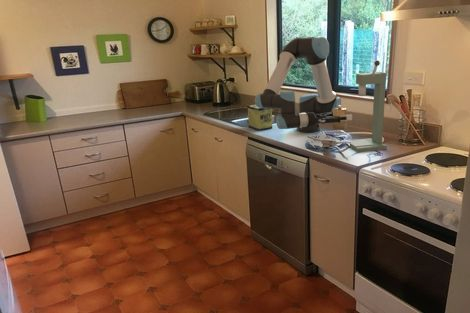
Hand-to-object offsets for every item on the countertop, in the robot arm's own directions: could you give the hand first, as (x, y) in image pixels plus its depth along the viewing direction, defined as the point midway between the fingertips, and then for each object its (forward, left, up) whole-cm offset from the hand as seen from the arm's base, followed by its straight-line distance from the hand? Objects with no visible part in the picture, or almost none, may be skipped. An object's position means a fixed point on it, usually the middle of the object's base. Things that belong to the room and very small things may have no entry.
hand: (348, 115), depth 195 cm
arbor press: (0, +10, -18) cm, 20 cm away
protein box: (-64, -36, -18) cm, 76 cm away
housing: (0, -5, -6) cm, 8 cm away
